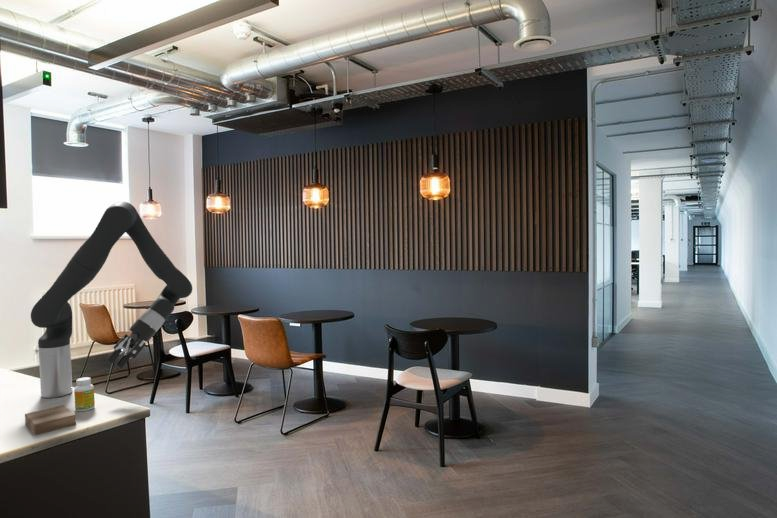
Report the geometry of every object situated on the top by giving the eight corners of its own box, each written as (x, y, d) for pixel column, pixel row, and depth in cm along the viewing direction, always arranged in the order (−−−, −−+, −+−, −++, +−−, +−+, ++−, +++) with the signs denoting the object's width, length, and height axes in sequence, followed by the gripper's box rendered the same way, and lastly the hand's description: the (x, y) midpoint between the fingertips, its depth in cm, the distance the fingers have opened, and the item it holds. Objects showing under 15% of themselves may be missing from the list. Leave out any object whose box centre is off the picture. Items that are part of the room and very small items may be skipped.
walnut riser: (25, 423, 150) (24, 413, 150) (64, 414, 157) (63, 405, 157) (35, 435, 142) (35, 424, 141) (76, 424, 149) (75, 414, 149)
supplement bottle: (85, 412, 159) (84, 381, 158) (71, 411, 160) (69, 381, 159) (98, 406, 164) (97, 376, 164) (84, 405, 165) (83, 376, 165)
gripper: (131, 316, 178) (97, 354, 171) (147, 320, 168) (112, 361, 161) (147, 328, 182) (114, 366, 175) (164, 334, 173) (130, 374, 165)
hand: (113, 364), depth 168 cm, fingers open, 8 cm apart
